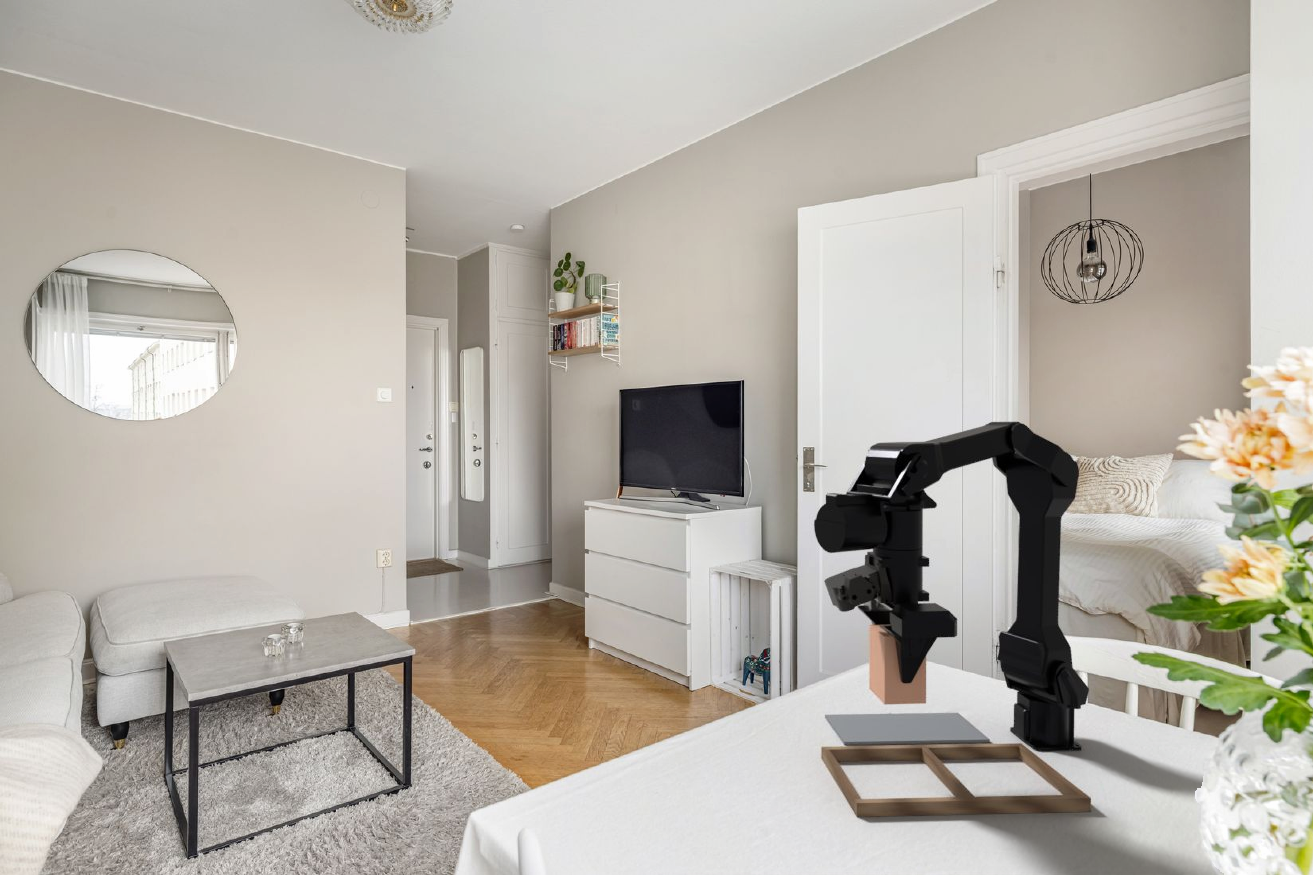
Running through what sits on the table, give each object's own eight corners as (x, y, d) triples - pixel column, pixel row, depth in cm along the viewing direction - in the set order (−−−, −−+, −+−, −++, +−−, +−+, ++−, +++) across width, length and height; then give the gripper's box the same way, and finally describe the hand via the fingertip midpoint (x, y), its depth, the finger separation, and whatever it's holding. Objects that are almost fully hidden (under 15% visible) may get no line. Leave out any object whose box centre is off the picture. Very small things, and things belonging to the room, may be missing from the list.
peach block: (908, 687, 88) (908, 622, 88) (926, 703, 83) (926, 634, 83) (869, 688, 88) (869, 623, 87) (884, 704, 83) (884, 635, 82)
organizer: (1021, 754, 92) (1021, 743, 92) (1090, 811, 78) (1090, 797, 78) (821, 758, 90) (821, 746, 90) (856, 816, 77) (856, 802, 77)
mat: (958, 715, 104) (958, 712, 104) (989, 742, 95) (989, 739, 95) (824, 717, 103) (824, 714, 103) (844, 744, 94) (844, 741, 94)
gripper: (810, 535, 94) (810, 651, 94) (858, 562, 75) (858, 707, 75) (892, 534, 94) (892, 649, 95) (959, 560, 76) (959, 704, 76)
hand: (897, 674), depth 85 cm, fingers closed on peach block, 5 cm apart
